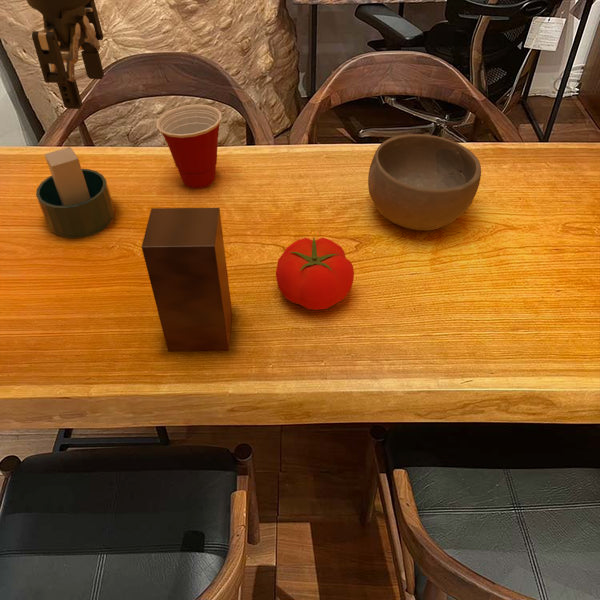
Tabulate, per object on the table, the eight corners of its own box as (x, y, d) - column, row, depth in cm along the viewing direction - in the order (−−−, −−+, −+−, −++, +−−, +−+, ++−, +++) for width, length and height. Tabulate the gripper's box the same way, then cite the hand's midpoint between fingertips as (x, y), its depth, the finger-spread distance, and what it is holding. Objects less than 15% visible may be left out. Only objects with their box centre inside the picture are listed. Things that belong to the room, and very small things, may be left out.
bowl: (467, 185, 103) (479, 134, 96) (472, 251, 91) (487, 198, 83) (368, 177, 105) (374, 126, 98) (361, 240, 92) (366, 187, 85)
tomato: (276, 268, 88) (275, 229, 83) (349, 267, 88) (352, 228, 83) (275, 320, 80) (274, 281, 75) (355, 319, 81) (359, 280, 75)
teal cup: (58, 246, 91) (46, 215, 87) (40, 211, 98) (28, 181, 93) (123, 224, 95) (115, 193, 91) (102, 191, 102) (93, 161, 97)
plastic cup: (190, 156, 109) (181, 95, 101) (239, 172, 106) (234, 110, 97) (154, 186, 103) (141, 123, 94) (205, 203, 99) (196, 140, 90)
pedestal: (167, 351, 77) (141, 247, 64) (174, 312, 82) (151, 208, 69) (228, 350, 77) (214, 246, 64) (232, 311, 82) (219, 207, 69)
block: (72, 225, 94) (51, 166, 86) (65, 212, 96) (44, 153, 89) (96, 217, 96) (78, 158, 88) (88, 204, 98) (70, 146, 90)
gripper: (42, -60, 73) (78, 68, 85) (-11, -22, 63) (37, 116, 75) (101, -58, 73) (128, 70, 84) (56, -20, 63) (94, 120, 74)
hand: (85, 92), depth 79 cm, fingers open, 8 cm apart
